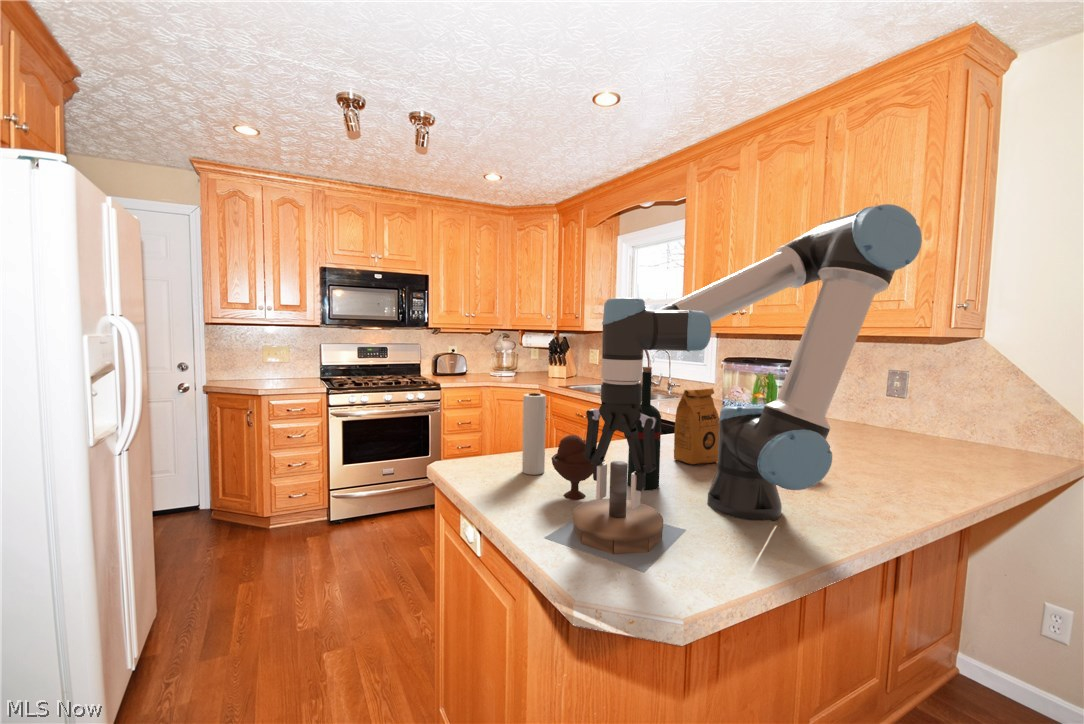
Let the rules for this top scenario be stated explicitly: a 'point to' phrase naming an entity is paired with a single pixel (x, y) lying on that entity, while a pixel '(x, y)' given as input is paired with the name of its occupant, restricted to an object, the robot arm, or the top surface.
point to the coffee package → (696, 428)
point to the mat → (631, 560)
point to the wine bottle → (650, 411)
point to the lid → (617, 520)
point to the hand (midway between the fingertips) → (617, 501)
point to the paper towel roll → (534, 433)
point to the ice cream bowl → (572, 464)
